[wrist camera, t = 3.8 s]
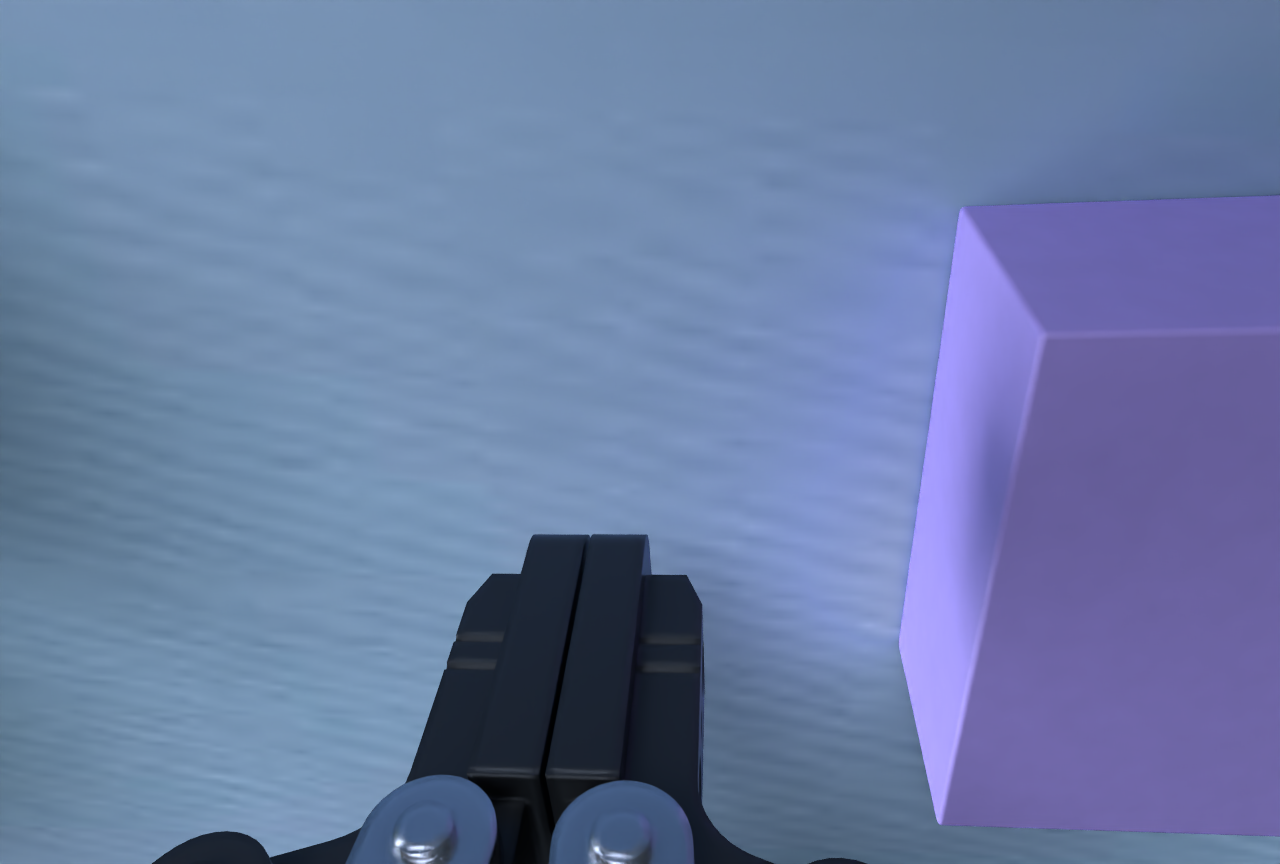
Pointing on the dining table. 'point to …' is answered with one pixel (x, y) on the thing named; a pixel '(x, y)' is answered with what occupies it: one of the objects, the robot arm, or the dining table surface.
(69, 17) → the dining table surface
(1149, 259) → the lavender block
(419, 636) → the dining table surface
